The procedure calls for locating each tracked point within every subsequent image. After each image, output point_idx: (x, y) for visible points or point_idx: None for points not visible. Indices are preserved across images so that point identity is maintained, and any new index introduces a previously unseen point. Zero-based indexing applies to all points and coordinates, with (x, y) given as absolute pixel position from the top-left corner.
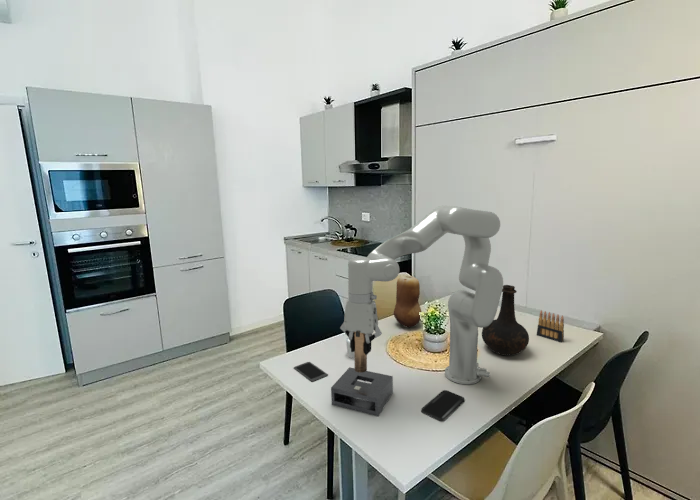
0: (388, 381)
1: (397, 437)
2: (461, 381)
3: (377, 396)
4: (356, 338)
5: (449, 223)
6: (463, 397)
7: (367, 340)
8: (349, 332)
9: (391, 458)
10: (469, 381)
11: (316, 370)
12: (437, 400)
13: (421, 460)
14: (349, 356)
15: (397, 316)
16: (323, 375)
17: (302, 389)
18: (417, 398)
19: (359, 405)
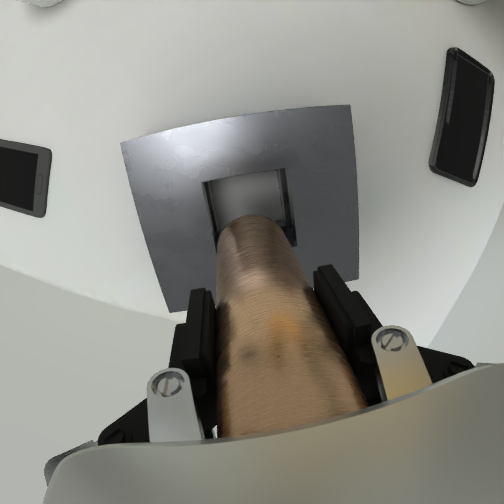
0: (351, 154)
1: (399, 287)
2: (469, 2)
3: (352, 270)
4: None
5: None
6: (491, 73)
7: (377, 400)
8: (143, 441)
9: None
10: (481, 1)
11: (9, 159)
12: (454, 105)
13: (442, 309)
14: (44, 6)
15: None
16: (42, 166)
17: (56, 263)
18: (404, 106)
19: None
